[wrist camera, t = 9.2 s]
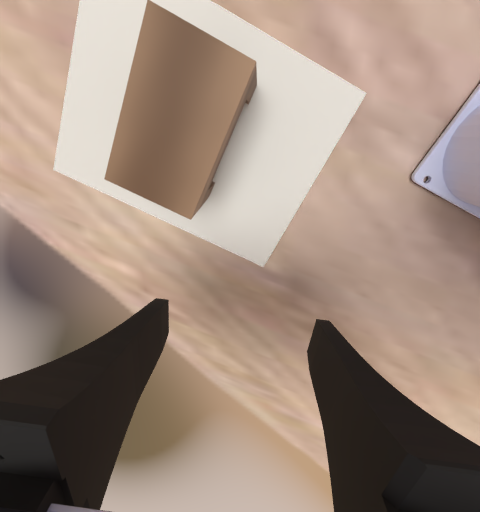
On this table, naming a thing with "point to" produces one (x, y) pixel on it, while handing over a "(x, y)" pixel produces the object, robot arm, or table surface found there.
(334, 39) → the table surface
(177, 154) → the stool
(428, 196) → the table surface
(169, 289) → the table surface
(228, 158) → the mat
